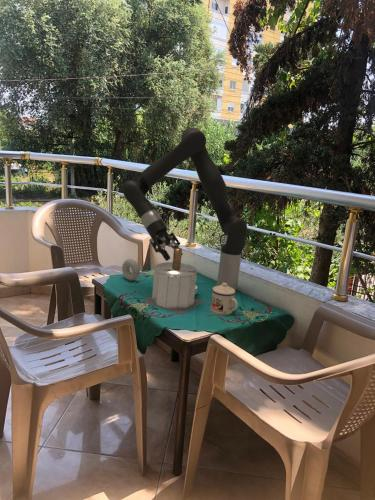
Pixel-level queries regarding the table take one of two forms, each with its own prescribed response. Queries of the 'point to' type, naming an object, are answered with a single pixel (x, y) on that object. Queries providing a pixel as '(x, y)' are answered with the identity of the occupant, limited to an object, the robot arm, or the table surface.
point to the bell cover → (174, 283)
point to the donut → (126, 269)
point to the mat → (181, 311)
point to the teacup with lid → (223, 299)
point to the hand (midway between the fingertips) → (174, 257)
